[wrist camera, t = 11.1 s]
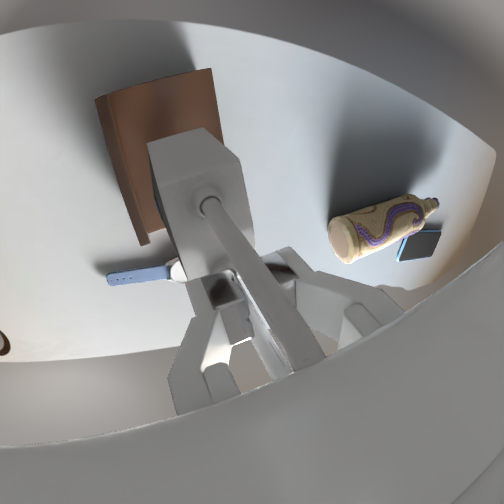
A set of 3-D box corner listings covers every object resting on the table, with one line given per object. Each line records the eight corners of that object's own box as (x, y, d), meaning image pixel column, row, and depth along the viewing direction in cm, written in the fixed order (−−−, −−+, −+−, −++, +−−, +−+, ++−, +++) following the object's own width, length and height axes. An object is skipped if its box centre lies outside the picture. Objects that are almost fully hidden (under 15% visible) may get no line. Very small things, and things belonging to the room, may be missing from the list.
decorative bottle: (325, 251, 47) (349, 274, 42) (326, 210, 43) (353, 230, 37) (423, 214, 53) (447, 229, 48) (429, 180, 49) (454, 194, 44)
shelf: (197, 71, 26) (217, 66, 20) (218, 186, 34) (241, 214, 28) (104, 96, 24) (94, 98, 18) (137, 212, 32) (140, 246, 26)
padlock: (230, 224, 19) (375, 428, 8) (169, 244, 18) (259, 486, 7) (210, 125, 15) (453, 285, 4) (138, 145, 14) (194, 419, 3)
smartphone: (431, 257, 62) (397, 263, 56) (429, 255, 63) (394, 260, 57) (443, 230, 58) (410, 231, 52) (440, 229, 59) (407, 229, 53)
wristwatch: (250, 269, 43) (252, 272, 42) (109, 290, 35) (109, 295, 35) (252, 243, 40) (255, 247, 40) (103, 263, 33) (103, 268, 32)
